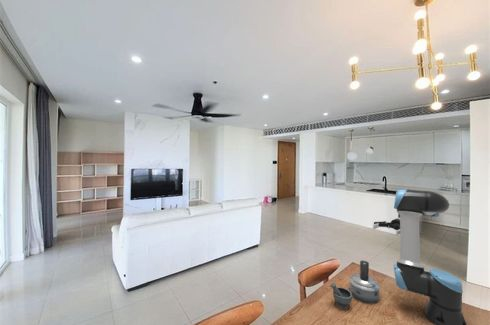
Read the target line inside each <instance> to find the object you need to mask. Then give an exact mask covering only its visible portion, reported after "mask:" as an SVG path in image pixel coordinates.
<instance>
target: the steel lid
mask: <svg viewBox="0 0 490 325" xmlns="http://www.w3.org/2000/svg"><path fill="white" fill-rule="evenodd" d="M369 264H370V263H369V262H368V261H367V260H360V262H359V272H357V273H354V275H353V274H352V275H353V281H354V282H355V283H356V284H358V285H360V286H362V287H366V288H373V287H375V286H376V281H377V280H376V279H375V277H372V276H371V275H370V273H369V268H370V265H369Z"/></svg>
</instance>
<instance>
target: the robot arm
mask: <svg viewBox="0 0 490 325" xmlns="http://www.w3.org/2000/svg"><path fill="white" fill-rule="evenodd" d="M394 198H395V199H394V204H393V209H395V210H396V213H397V216H398V217H396V218H394V219H392V220H391V221H390V222H387V221H386V220H384V221H383V220H382V221H374V222H373V224H372V230H375V229H378V228H388V229H393V230H395V236H399V238H400V239H399V259H397V260H396V263H394V264H393V270H394V272H393V273H394V277H395V278H394V279H395V284H396V286H397V287H398V288H399V289H401V290H405V291H407V292H411V293H415V294H419V295H422V296H426V297H429V300H428V301H427V303H426V305H425V307H424V315H425V316H426V318H427V319H428V320H429V321H430V322H431V323H432V324H434V325H435V324H436V325H467V321H466V319H465V316H464V314H463V311H462V310H463V294H464V291H463V284H462V281H460V279H459V278H458V277H456V275H453V274H451V273H449V272H447V271H445V270H441V269H439V268H438V269H437V268H431V269H430V270H429V271H425V267H424V266H423V264H422V263H421V251H420V249H421V248H420V247H421V246H420V241H421V240H420V217H422V216H426V217H433V218H438V217H439V216H440V214H441V213H444V212H447V211H448V209H449V207H450V202H449V200H448V199H447V198H446V197H445V196H444V195H442V194H440V193H438V192H435V191H429V190H428V191H427V190H413V189H398V190H396V192H395V197H394Z"/></svg>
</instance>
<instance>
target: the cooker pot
mask: <svg viewBox="0 0 490 325" xmlns="http://www.w3.org/2000/svg"><path fill="white" fill-rule="evenodd" d="M354 274H355V273H354ZM354 274H351V275H350V276H349V278H348V279H349V291H350V292H351V293H352V298H354V299H355V300H357V301H359V302H361V303H365V304H377V303H378V302H380V289H381V285H380V282H379V281H378V280H376V286H375V287H373V288H366V287H362V286H360V285H358V284H356V283H355V282H354V281H353V275H354Z"/></svg>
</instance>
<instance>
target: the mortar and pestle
mask: <svg viewBox="0 0 490 325" xmlns="http://www.w3.org/2000/svg"><path fill="white" fill-rule="evenodd" d="M330 287H331V288H332V295H333V299H334V300H335V302H336V303H335V305H336V306H337V307H338V308H340V309H343V310H344V309H345V310H346V309H348V308H349V305H350V304H351V303H352V302H353V296H352V293H351V292H350V289H348V288H347V289H346V288H345V287H342V286H341V287H340V286H337V284H336V282H332V283H331V284H330Z"/></svg>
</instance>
